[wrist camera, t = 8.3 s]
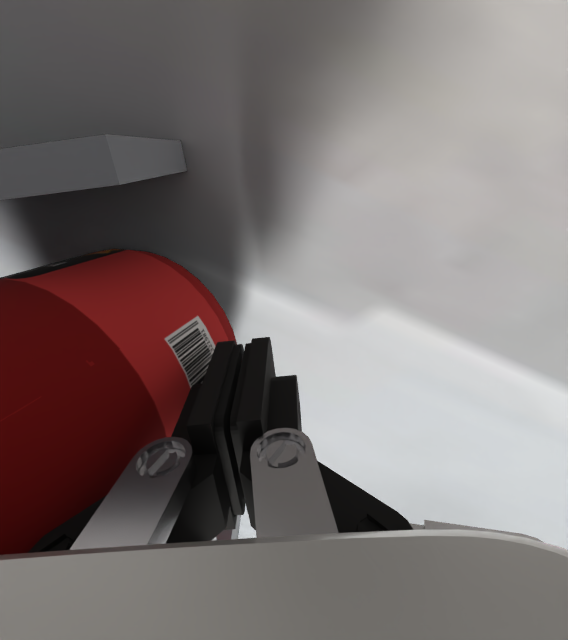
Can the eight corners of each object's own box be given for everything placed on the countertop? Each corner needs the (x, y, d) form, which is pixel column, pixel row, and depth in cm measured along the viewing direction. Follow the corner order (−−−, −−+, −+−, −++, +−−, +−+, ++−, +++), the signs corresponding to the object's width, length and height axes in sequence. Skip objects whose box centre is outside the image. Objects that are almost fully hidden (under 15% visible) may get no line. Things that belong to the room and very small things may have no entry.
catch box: (248, 458, 19) (232, 580, 14) (45, 476, 20) (-46, 598, 15) (180, 140, 13) (105, 134, 8) (-109, 179, 14) (-367, 199, 8)
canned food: (111, 199, 13) (-675, 298, 4) (286, 338, 13) (-107, 822, 4) (63, 341, 17) (-390, 565, 8) (197, 451, 17) (-104, 827, 7)
